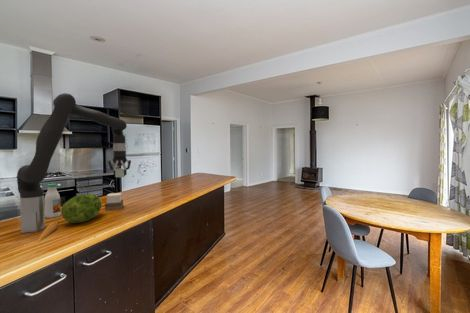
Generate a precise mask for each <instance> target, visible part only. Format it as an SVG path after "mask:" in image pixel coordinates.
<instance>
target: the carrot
mask: <svg viewBox="0 0 470 313" xmlns="http://www.w3.org/2000/svg"><path fill="white" fill-rule="evenodd" d="M58 225H59V224H58V223H57V222H56V221H52V222H49V223H48V224H47V225H46V226H45V228H44V229H43V231H42V232H41V234H40V236H39V238H38V240H37V241H36V243H39V242H40V241H42V240H43V239H45V238H46V237H47V236H49V235H50V234H52V232H55V230H57V229H58V227H59V226H58Z"/></svg>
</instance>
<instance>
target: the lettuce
mask: <svg viewBox="0 0 470 313" xmlns="http://www.w3.org/2000/svg"><path fill="white" fill-rule="evenodd" d="M102 205H103V201H102V199H101V198H100V197H99V196H98V195H96V194H92V193H82V194H76V195H75V196H73V197H71V198H70V199H67V200H66V201H65V202H64V203H63V205H62V207H61V216H62V218H63V219H64V220H65V221H66V222H67V223H69V224H70V223H71V224H78V223H83V222H87V221H89V220H91V219H93V218H94V217H96V216H97V215H98V214H99V213H100V211H101V208H102Z"/></svg>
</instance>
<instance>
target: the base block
mask: <svg viewBox="0 0 470 313" xmlns="http://www.w3.org/2000/svg"><path fill="white" fill-rule="evenodd" d="M123 207H124V199H122V200H121V202H118V203H107V201H106V202H105V203H104V211H106V212H107V211H119V210H122V209H123Z"/></svg>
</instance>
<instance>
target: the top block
mask: <svg viewBox="0 0 470 313" xmlns="http://www.w3.org/2000/svg"><path fill="white" fill-rule="evenodd" d="M122 194H123V193H122V192H117V193H116V192H113V193H108V194H107V195H106V202H107V203H118V202H121V200H123V199H122Z"/></svg>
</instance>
